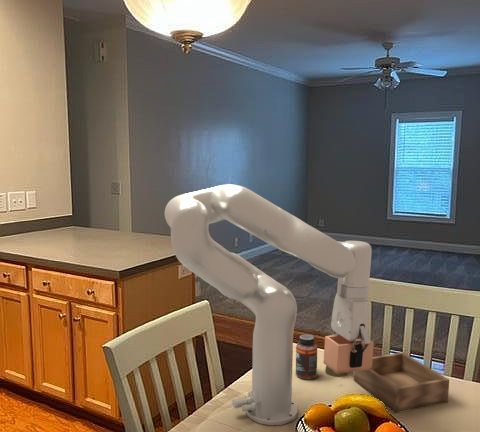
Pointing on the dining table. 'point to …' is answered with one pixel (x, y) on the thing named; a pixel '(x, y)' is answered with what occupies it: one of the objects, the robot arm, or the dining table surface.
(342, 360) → the small crate
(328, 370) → the olive green pawn
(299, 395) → the dining table surface
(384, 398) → the big crate
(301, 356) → the supplement bottle
